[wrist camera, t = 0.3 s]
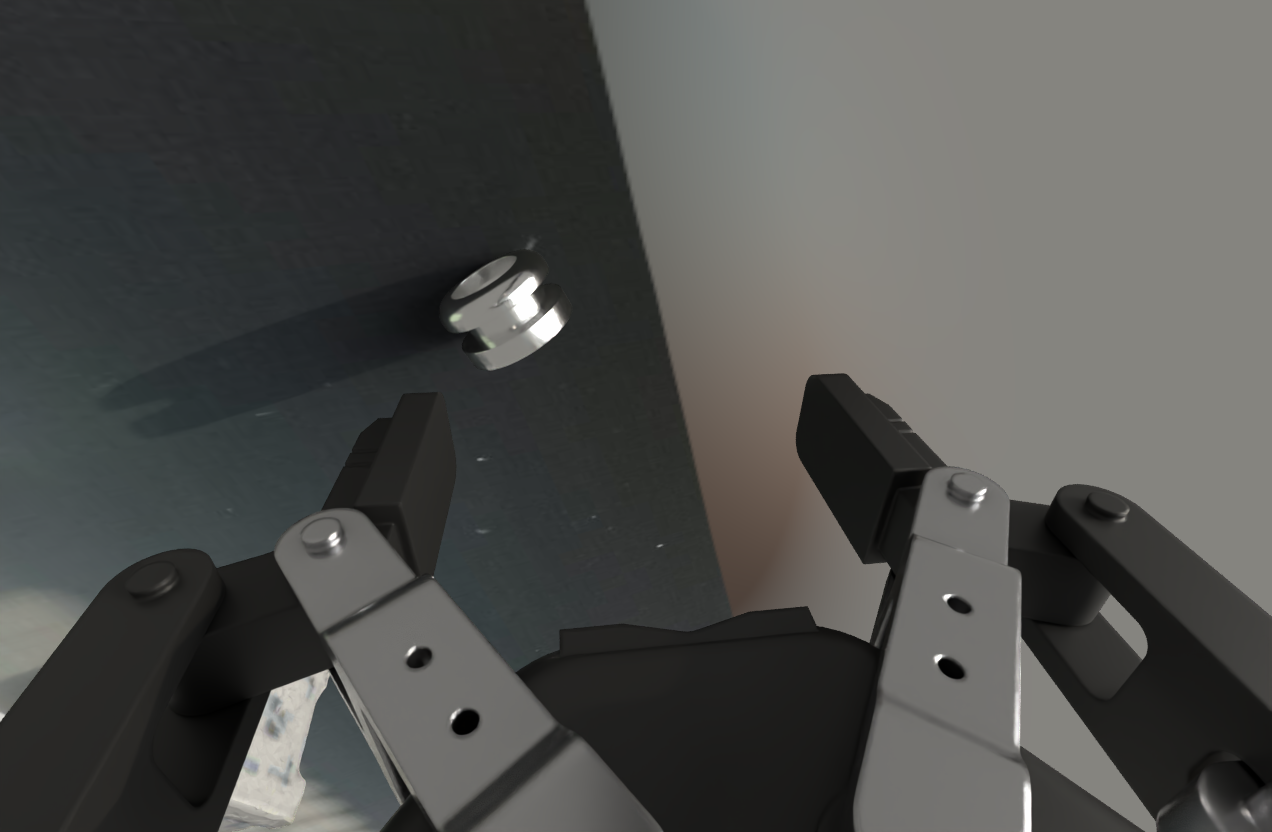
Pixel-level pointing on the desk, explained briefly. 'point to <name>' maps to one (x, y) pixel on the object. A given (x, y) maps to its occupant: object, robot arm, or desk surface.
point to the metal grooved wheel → (505, 309)
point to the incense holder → (275, 759)
